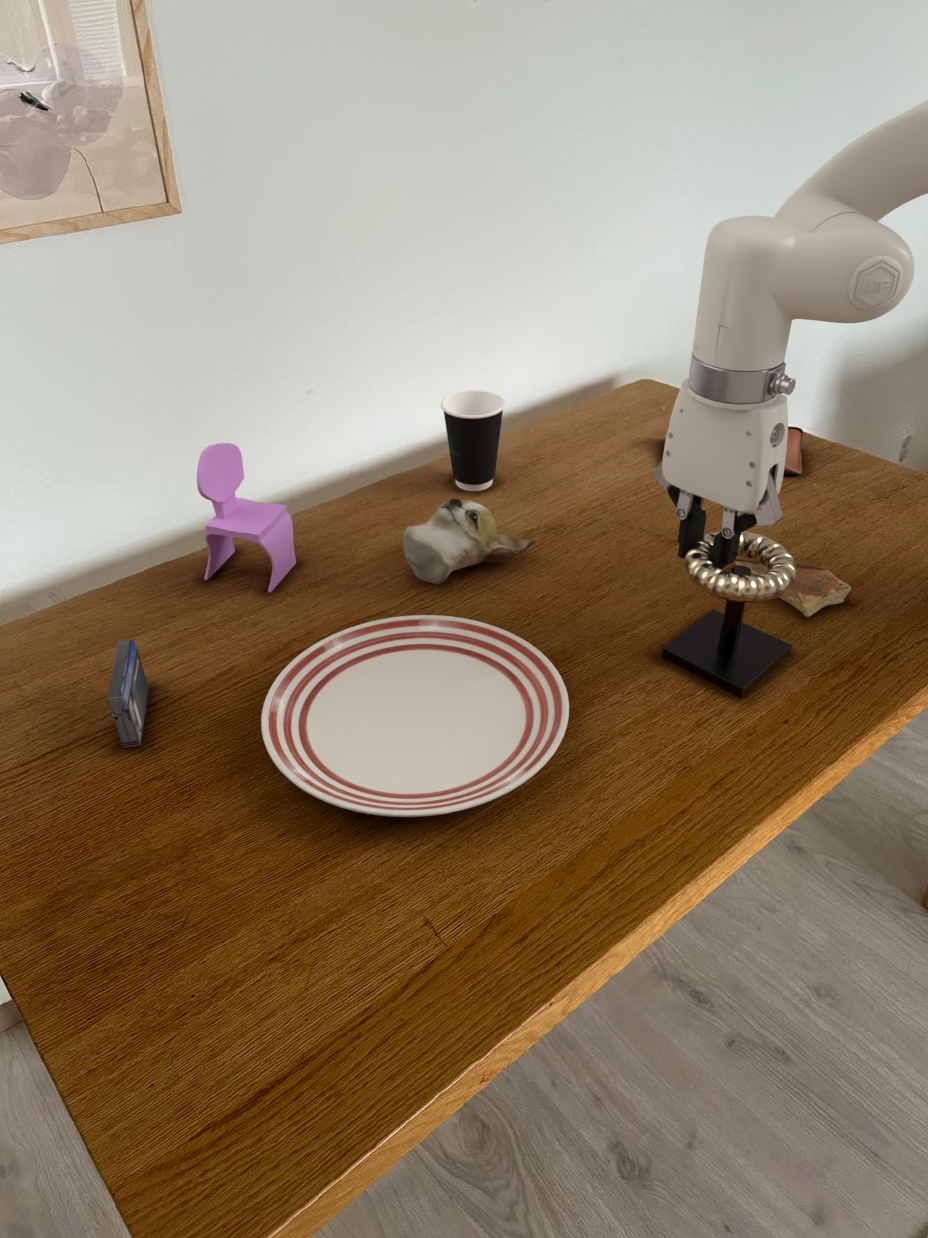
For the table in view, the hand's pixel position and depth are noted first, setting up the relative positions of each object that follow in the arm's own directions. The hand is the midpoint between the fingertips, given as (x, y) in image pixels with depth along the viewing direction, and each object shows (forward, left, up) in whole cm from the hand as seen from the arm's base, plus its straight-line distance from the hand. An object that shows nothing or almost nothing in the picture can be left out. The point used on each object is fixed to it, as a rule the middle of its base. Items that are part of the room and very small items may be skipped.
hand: (705, 557), depth 93 cm
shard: (-3, -14, -10) cm, 17 cm away
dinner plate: (+11, +28, -10) cm, 32 cm away
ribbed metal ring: (-4, 0, +1) cm, 4 cm away
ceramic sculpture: (+27, +6, -10) cm, 30 cm away
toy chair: (+43, +23, -10) cm, 50 cm away
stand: (-4, 0, -10) cm, 11 cm away
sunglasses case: (+18, -37, -10) cm, 43 cm away
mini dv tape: (+31, +45, -10) cm, 56 cm away
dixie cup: (+39, -9, -10) cm, 41 cm away
